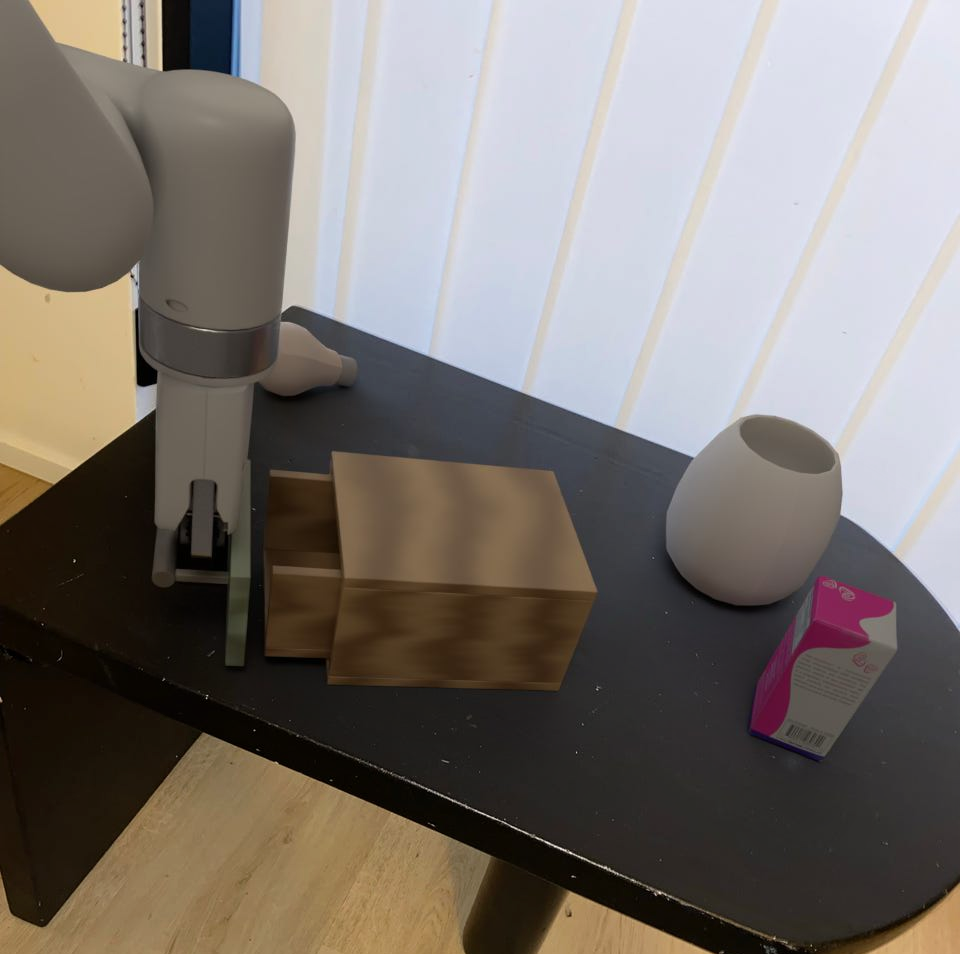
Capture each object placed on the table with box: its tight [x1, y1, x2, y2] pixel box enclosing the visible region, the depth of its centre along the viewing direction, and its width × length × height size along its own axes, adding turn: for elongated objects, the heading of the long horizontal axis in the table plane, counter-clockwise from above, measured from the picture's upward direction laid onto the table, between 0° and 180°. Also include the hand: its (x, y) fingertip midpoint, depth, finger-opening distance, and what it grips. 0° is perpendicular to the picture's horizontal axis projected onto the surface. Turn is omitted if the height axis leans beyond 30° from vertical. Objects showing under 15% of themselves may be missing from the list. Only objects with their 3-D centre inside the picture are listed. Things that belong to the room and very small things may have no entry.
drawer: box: [151, 459, 342, 667], centre depth 67 cm, size 20×12×8 cm, turn 99°
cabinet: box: [324, 450, 598, 692], centre depth 70 cm, size 17×14×10 cm
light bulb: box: [258, 321, 359, 397], centre depth 91 cm, size 7×7×11 cm
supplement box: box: [747, 574, 898, 763], centre depth 69 cm, size 6×6×12 cm
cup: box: [665, 413, 844, 606], centre depth 81 cm, size 13×13×14 cm
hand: (201, 577), depth 66 cm, fingers closed
